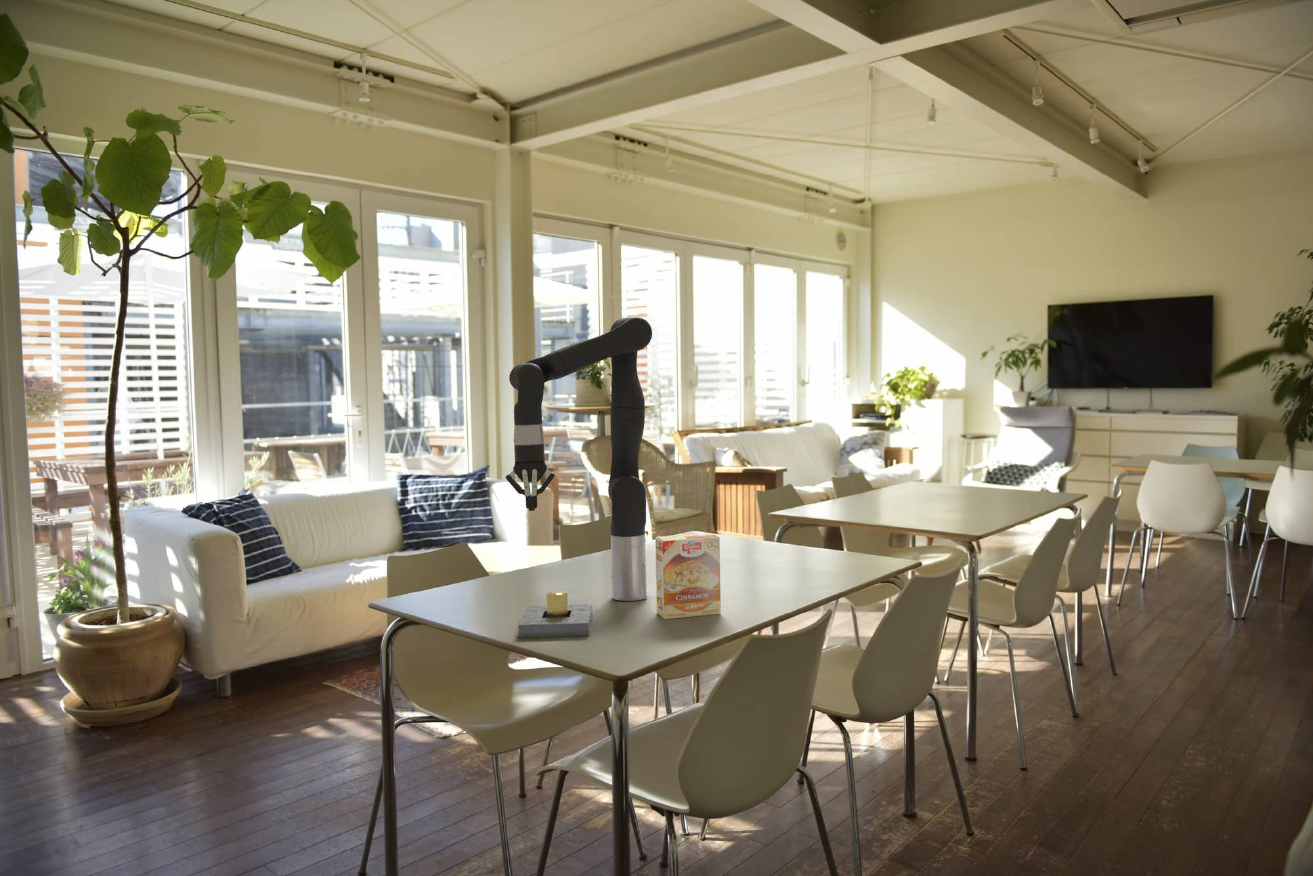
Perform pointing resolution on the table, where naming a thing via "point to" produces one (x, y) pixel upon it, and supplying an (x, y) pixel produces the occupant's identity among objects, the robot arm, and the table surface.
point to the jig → (556, 622)
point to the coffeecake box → (688, 575)
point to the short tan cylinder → (557, 604)
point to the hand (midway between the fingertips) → (531, 510)
